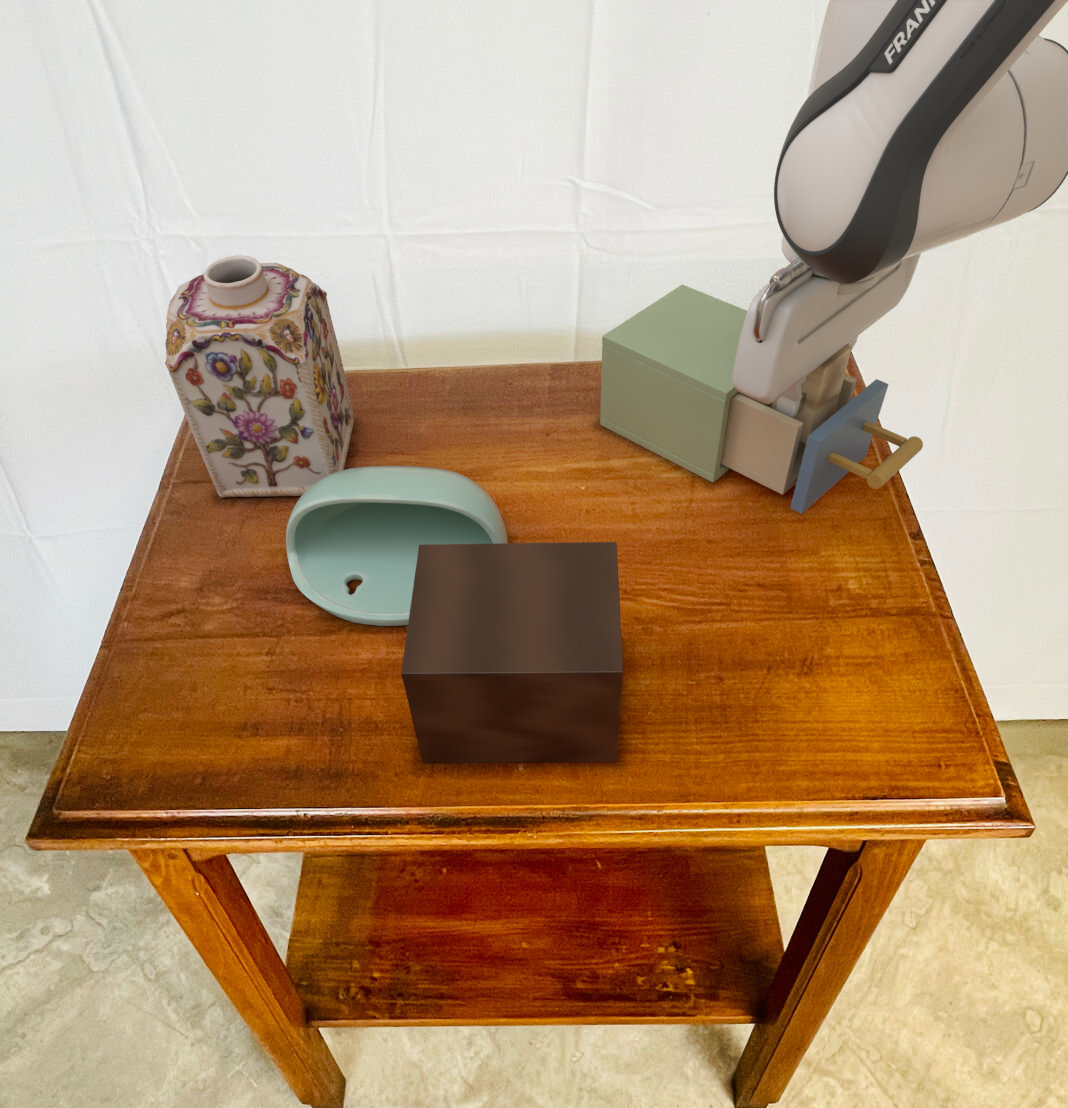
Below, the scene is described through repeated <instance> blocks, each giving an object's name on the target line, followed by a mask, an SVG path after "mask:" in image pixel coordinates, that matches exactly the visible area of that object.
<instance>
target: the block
mask: <svg viewBox="0 0 1068 1108" xmlns="http://www.w3.org/2000/svg"><path fill="white" fill-rule="evenodd" d="M851 350H852V351H853V349H852V347H850V346H847V345H846V346H844V347H843V348H842V349H840V350H839V351H838V352H837V353H835V354H834V355H833V356H832V357H830V358H829V359H828V360H826V361H825V362H824V363H823V364H821V365H820V366H819V367H817V368H816V369H815V370H814V371H812V372H811V373H810V374H808V375H807V376H806V380H805V382H804V383H801V390H802V392H804V393H806V394H807V396H806V400H805V403H804V409H803V410H802V411H801V412H799V413H798V414H797V415H796V416H795V417H794V418H793V419H796V420H798V421H800V422H802V423H804V424H803V428H802V432H801V437H800V441H801V442H804V443H806V442H807V438H808V436H809V435H810V434H811V433H812V432H813V431H815V430H816V429H817V428H818V427H819V426H821V425H822V424H823V423H824V422H825V421H827V420H828V419H829V418H830V417H831V416H833V415H834V414H835V410H836V407H837V403H838V399H839V395H840V391H841V388H842V384H843V380H844V376H845V374H846V372H847V368H848V365H849V361H850V358H851V354H852V351H851ZM777 402H778V399H777V400H775V401H774V402H773V404H772V409H774V410H776V411H777V409H776V407H777Z"/></svg>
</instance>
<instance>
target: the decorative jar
mask: <svg viewBox="0 0 1068 1108" xmlns="http://www.w3.org/2000/svg"><path fill="white" fill-rule="evenodd" d="M327 296H328V293H327V292H326V290H324V289H322V288H321V287H320V286H319V285H318V284H317V283H315V282H313V281H312V279H310V278H309V277H308V276H306V275H304V274H301V273H299V272H297V271H295V270H294V269H293V268H290V267H287V266H285V265H283V264H281V263H278V262H260V261H258V259H256V258H255V257H252V256H249V255H242V254H241V255H232V256H231V255H230V256H227V257H224V258H219V259H217V260H215V261H213V262H212V263H211V264H209V265H208V266H207V267H206V269H205V271H204V272H203V273H202V274H199V275H197V276H196V277H193V278H192V279H190V280H188V281H186V282H184V283H182V284H180V285H179V286H178V288H177V289H176V291H175V293H174V295H173V296H172V298H171V299H170V301H169V303H168V307H167V311H166V322H165V323H166V325H165V329H166V337H165V343H164V345H165V350H166V352H165V353H166V354H165V355H166V356H165V357H166V358H165V362H164V364H165V367H166V368H167V370H168V374H169V376H170V378H171V379H170V380H171V382H172V383H173V385H174V386H173V387H174V389H175V392H176V394H177V396H178V400H179V402H180V405H181V407H182V410H183V413H184V415H185V418H186V420H187V423H188V425H189V428H190V430H191V434H192V436H193V438H194V440H195V443H196V446H197V447H198V451H199V453H200V455H201V458H202V461H203V462H204V466H205V467H206V470H207V472H208V475H209V477H210V479H211V482H212V484H213V486H214V488H215V490H216V493H217V495H218V496H219V498H221V499H223V498H239V497H240V498H252V497H253V498H254V497H255V498H257V497H301V496H302V495H303V494H304V493H305V492H306V491H307V490H308V489H309V488H310V487H311V486H312V485H313V484H315V483H316V482H318V481H319V480H321V479H322V478H324V477H326V476H328V475H331V474H333V473H336V472H339V471H342V470H345V467H346V461H347V457H348V453H349V448H350V444H351V438H352V435H353V434H352V433H353V429H354V425H355V414H354V409H353V405H352V404H353V403H352V400H351V395H350V390H349V386H348V381H347V377H346V373H345V368H344V364H343V360H342V355H341V351H340V347H339V344H338V339H337V334H336V331H335V327H334V323H333V321H332V315H331V312H330V307H329V301H328V298H327Z"/></svg>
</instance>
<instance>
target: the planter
mask: <svg viewBox="0 0 1068 1108" xmlns="http://www.w3.org/2000/svg"><path fill="white" fill-rule="evenodd" d="M285 531H286V532H285V548H286V555H287V562H288V566H289V570H290V574H291V578H292V580H293V583H294V584H295V585H296V587H297V589H298V590H299V591H300V593H302V594H303V596H305V597H306V598H307V599H308V600H309V601H311V602H312V603H313V604H315V605H316V606H317V607H319V608H321V609H322V610H324V612H327V613H329V614H331V615H333V616H334V617H337V618H339V619H343V620H345V621H348V622H351V623H355V624H361V625H369V626H377V627H378V626H379V627H398V626H400V627H401V626H408V621H409V614H410V606H411V599H412V592H413V585H414V578H415V571H416V563H417V556H418V549H419V545H425V544H499V543H509V538H508V532H507V527H506V524H505V521H504V518H503V516H502V513H501V511H500V509H499V507H498V506H497V503H496V502H495V501H494V499H493V498H492V497H491V495H490V494H489V493H488V491H487V490H485V489H484V488H483V487H482V486H481V485H480V484H479V483H477V482H476V481H475V480H473V479H471V478H470V477H467V476H466V475H463V474H461V473H459V472H456V471H452V470H448V469H444V468H438V467H429V466H418V465H417V466H416V465H369V466H358V467H351V468H346V469H344V470H342V471H339V472H336V473H333V474H331V475H328V476H326V477H324V478H322V479H321V480H319V481H318V482H316V483H315V484H313V485H312V486H311V487H310V488H309V489H308V490H307V491H306V492H305V493H304V494H303V495H302V496H299V498H298V499H297V501H296V503H295V505H294V506H293V508H292V510H291V512H290V515H289V517H288V520H287V525H286V530H285ZM355 580H357V581H361V583H360V584H359V585H358V586H357V587H356V588H355V591H354V592H353V593H352V594H350V591H351V590H350V587H349V586H348V584H349V582H352V581H355Z"/></svg>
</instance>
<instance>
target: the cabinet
mask: <svg viewBox="0 0 1068 1108" xmlns="http://www.w3.org/2000/svg"><path fill="white" fill-rule="evenodd" d="M747 311H748V310H746V309H744V308H741V307H739V306H736V305H734V304H731V303H729V302H726V301H725V300H722V299H720V298H716V297H714V296H712V295H709V294H707V293H704V292H702V291H700V290H697V289H695V288H692V287H690V286H688V285H686V284H681V285H679V286H677V287H675V288H674V289H673V290H671V291H669V292H668V293H666V294H665V295H664V296H662V297H660V298H659V299H657V300H656V301H654V302H653V303H651V304H649V305H648V306H647V307H645V308H644V309H641V310H640V311H639V312H637V313H635V314H634V315H632V316H631V317H630V318H628V319H626V320H624V321H623V322H621V323H620V324H619V325H617V326H616V327H613V328H612V329H611V330H609V331H607V333H605V334H603V335H602V337H601V340H602V342H601V344H602V345H601V375H600V377H601V378H600V408H599V410H600V413H599V414H600V415H599V417H600V418H599V425H600V426H601V427H604V428H606V430H607V429H608V430H609V431H610V432H611V431H612V433H615V434H617V435H619V436H621V437H623V438H625V439H627V440H628V441H630V442H632V443H634V444H637V445H639V446H640V447H642V448H644V449H646V450H648V451H650V452H652V453H654V454H656V455H657V456H660V457H662V458H664V459H665V460H667V461H670V462H672V463H674V464H676V465H678V466H679V467H682V469H685V470H687V471H689V472H691V473H693V474H695V475H696V476H699V477H700V478H702V479H705V480H706V481H709V482H710V483H712V484H713V483H715V482H716V481H717V480H718V479H720V478H721V477H722V476H723V475H724V474H726V473H727V472H729V470H731V469H730V468H728V467H726V466H724V465H722V464H720V462H721V456H722V450H723V443H724V437H725V431H726V424H727V418H728V412H729V405H730V399H731V397H732V396H733V395H735V394H736V393H737V392H738V391H737V390H736V389H735V387H734V385H733V383H732V372H733V366H734V362H735V357H736V352H737V348H738V344H739V340H740V335H741V331H742V328H743V324H744V320H745V317H746V314H747Z"/></svg>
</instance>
